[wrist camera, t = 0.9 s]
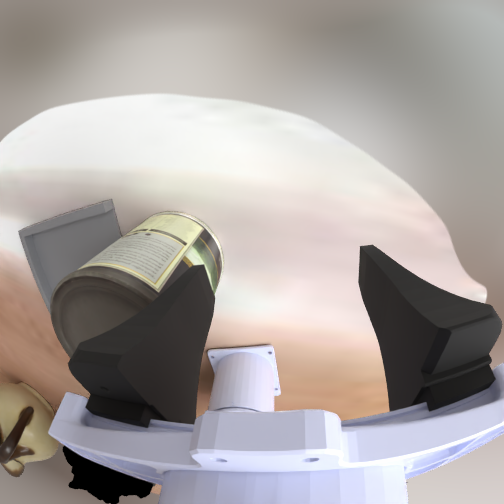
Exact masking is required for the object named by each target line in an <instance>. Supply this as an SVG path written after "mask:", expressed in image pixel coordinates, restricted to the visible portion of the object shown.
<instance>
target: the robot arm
mask: <svg viewBox="0 0 504 504" xmlns="http://www.w3.org/2000/svg"><path fill="white" fill-rule="evenodd" d="M358 283H359V287H360V291H361V295H362V299H363V302H364V304H365V307H366V310H367V312H368V315H369V317H370V320H371V323H372V325H373V328H374V331H375V333H376V336H377V339H378V342H379V346H380V350H381V355H382V359H383V364H384V370H385V376H386V382H387V390H388V398H389V409H390V412H387V413H382V414H378V415H373V416H368V417H363V418H357V419H351V420H345V421H340V419H339V417H338V415H337V414H335V413H333V412H329V411H326V410H322V409H303V410H290V411H274V396H278V395H280V394H281V391H280V384H279V378H278V372H277V366H276V359H275V353H274V347H273V346H272V345H264V346H253V347H241V348H227V349H211V350H208V353H207V354H208V357H209V360H210V363H211V365H212V368H213V371H214V373H215V378H214V382H213V387H212V392H211V397H210V402H209V406H208V411H207V410H206V411H205V414H203V415H201V416H199V417H197V418H196V404H197V390H198V381H199V373H200V365H201V359H202V355H203V351H204V347H205V343H206V340H207V336H208V332H209V329H210V325H211V321H212V317H213V312H214V304H215V296H214V293H213V290H212V287H211V284H210V281H209V277H208V274H207V271H206V268H205V265H204V264H201V265H192V266H191V267H190V268H189V269H187V270H186V271H185V272H184V273H183V274H182V275H181V276H180V277H179V278H178V279H177V280H176V281H175V282H174V283H173V284H172V285H171V286H170V287H168V288H167V289H166V290H165V291H164V292H163V293H162V294H161V295H160V296H158V297H157V298H156V299H155V300H154V301H153V302H152V303H150V304H149V305H148V306H147V307H145V308H144V309H143V310H141V311H140V312H139V313H137V314H136V315H134V316H133V317H131V318H129V319H128V320H126V321H125V322H123V323H121V324H120V325H118V326H116V327H114V328H113V329H111V330H109V331H107V332H105V333H103V334H100V335H98V336H96V337H93V338H91V339H88V340H86V341H83V342H80V343H79V345H78V346H77V348H76V350H75V352H74V354H73V355H72V357H71V359H70V361H69V363H68V366H69V369H70V371H71V373H72V374H73V376H74V377H75V378H76V379H77V380H78V381H79V382H80V383H81V384H82V386H83V387H84V388H85V389H86V390H87V391H88V392H89V393H90V394H91V395H90V397H89V399H87V398H85V397H83V396H81V395H77V394H74V393H71V392H66V394H65V396H64V398H63V400H62V402H61V404H60V406H59V409H58V411H57V413H56V415H55V417H54V419H53V422H52V424H51V426H50V429H49V431H48V433H49V435H51V436H52V437H53V438H55V439H56V440H58V441H59V442H60V443H62V444H63V445H65V446H66V447H68V448H69V449H71V450H72V451H74V452H76V453H77V454H79V455H80V456H82V457H84V458H87V459H89V460H91V461H94V462H96V463H99V464H101V465H103V466H106V467H108V468H111V469H114V470H116V471H119V472H122V473H124V474H127V475H130V476H133V477H136V478H139V479H142V480H145V481H149V482H152V483H155V484H159V485H162V488H161V493H160V497H159V502H158V504H408V496H407V488H406V479H408V478H411V477H414V476H417V475H420V474H422V473H425V472H427V471H430V470H432V469H435V468H437V467H440V466H442V465H444V464H446V463H449V462H451V461H453V460H455V459H457V458H459V457H461V456H463V455H465V454H467V453H469V452H471V451H473V450H475V449H477V448H479V447H481V446H482V445H484V444H486V443H488V442H489V441H491V440H493V439H495V438H496V437H498V436H500V435H501V434H503V433H504V363H502V364H499V365H498V366H496V367H495V368H494V369H493V370H491V368H490V365H489V364H490V363H491V362H492V359H491V357H490V355H489V353H490V351H491V349H492V348H493V346H494V344H495V342H496V341H497V338H498V337H499V335H500V332H501V328H502V321H501V319H500V318H499V316H498V315H497V313H496V312H495V310H494V309H493V307H492V306H491V305H488V304H484V303H480V302H476V301H472V300H469V299H466V298H463V297H460V296H457V295H454V294H452V293H449V292H447V291H445V290H443V289H440V288H438V287H436V286H434V285H432V284H430V283H428V282H427V281H425V280H423V279H421V278H419V277H418V276H416V275H415V274H413V273H412V272H410V271H408V270H407V269H405V268H404V267H403V266H401V265H400V264H398V263H397V262H396V261H394V260H393V259H391V258H390V257H389V256H387V255H386V254H385V253H383V252H382V251H381V250H379V249H378V248H377V247H375V246H374V245H367V246H360V262H359V281H358ZM269 351H271V352H269ZM213 356H214V357H213Z"/></svg>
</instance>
